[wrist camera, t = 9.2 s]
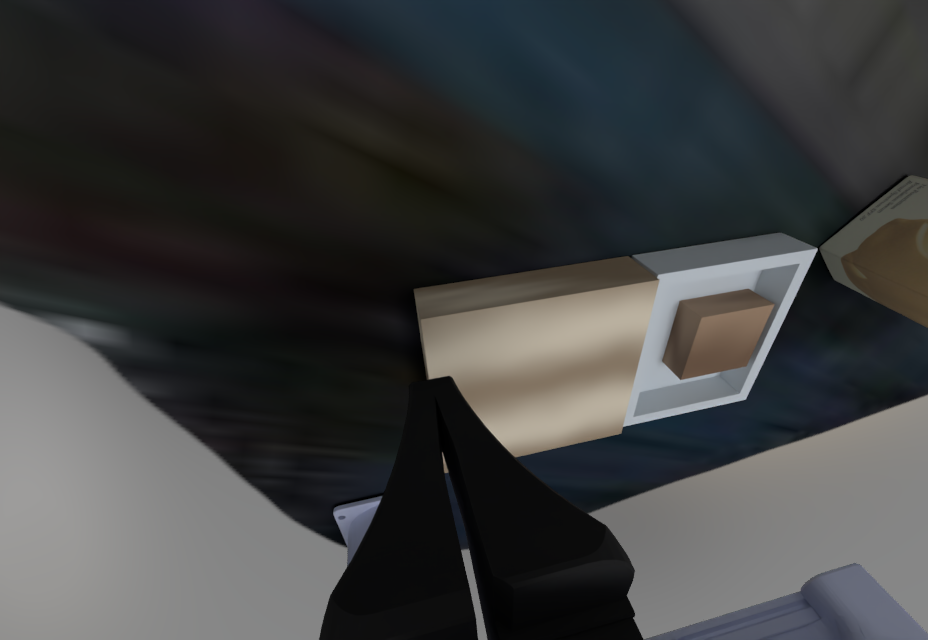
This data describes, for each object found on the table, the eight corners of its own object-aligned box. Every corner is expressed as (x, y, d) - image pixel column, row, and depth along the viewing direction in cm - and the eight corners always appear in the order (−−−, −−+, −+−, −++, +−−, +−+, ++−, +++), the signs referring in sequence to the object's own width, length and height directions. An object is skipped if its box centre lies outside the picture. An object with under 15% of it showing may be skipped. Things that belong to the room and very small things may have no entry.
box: (720, 377, 31) (745, 399, 29) (602, 401, 30) (620, 427, 28) (780, 232, 25) (818, 248, 23) (632, 255, 23) (658, 274, 21)
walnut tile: (680, 380, 26) (662, 361, 28) (746, 366, 27) (724, 348, 29) (701, 317, 24) (679, 300, 25) (774, 304, 24) (748, 288, 26)
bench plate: (599, 402, 30) (621, 433, 27) (435, 437, 28) (442, 473, 26) (628, 255, 23) (659, 279, 21) (413, 289, 21) (420, 319, 19)
